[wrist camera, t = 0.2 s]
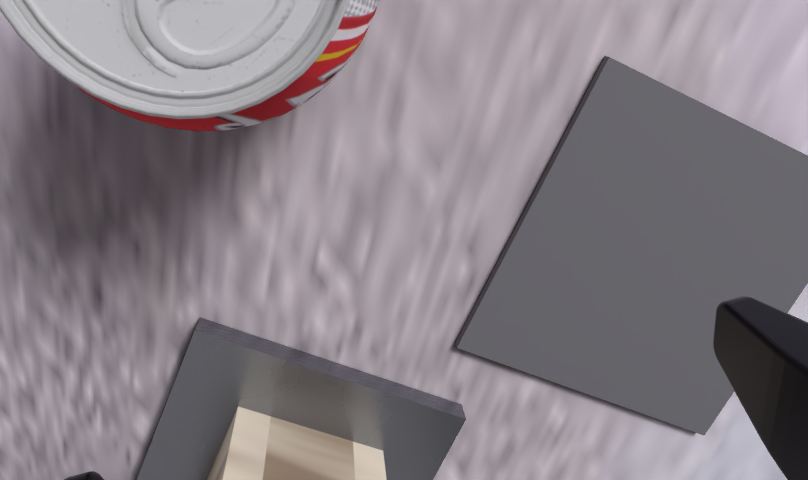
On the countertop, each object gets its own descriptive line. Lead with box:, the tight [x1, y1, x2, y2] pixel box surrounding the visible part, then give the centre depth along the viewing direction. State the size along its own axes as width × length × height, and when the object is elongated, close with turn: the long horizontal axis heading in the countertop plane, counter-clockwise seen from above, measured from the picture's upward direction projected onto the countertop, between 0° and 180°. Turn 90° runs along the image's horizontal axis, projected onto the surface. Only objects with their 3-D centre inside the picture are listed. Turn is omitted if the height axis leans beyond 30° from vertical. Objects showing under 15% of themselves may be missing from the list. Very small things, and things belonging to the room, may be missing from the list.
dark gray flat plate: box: [455, 56, 808, 435], centre depth 26 cm, size 12×12×1 cm
